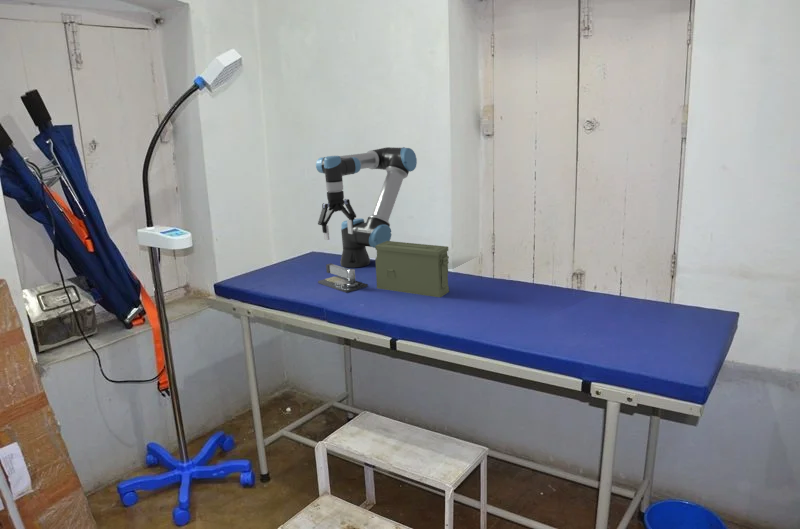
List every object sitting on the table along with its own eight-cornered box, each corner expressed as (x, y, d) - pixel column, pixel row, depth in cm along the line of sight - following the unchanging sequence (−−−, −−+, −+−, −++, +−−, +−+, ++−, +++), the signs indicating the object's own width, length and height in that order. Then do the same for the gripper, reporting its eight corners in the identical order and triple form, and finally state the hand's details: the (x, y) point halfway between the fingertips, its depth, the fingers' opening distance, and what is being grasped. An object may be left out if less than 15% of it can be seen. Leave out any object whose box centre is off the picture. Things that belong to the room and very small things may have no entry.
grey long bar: (357, 282, 268) (356, 269, 266) (351, 283, 266) (350, 270, 264) (332, 274, 282) (331, 262, 280) (326, 276, 280) (325, 263, 278)
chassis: (339, 277, 286) (338, 272, 285) (367, 286, 270) (367, 281, 269) (318, 283, 278) (317, 278, 278) (346, 292, 262) (345, 287, 262)
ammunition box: (442, 298, 250) (440, 251, 244) (375, 288, 266) (373, 244, 261) (452, 291, 258) (451, 246, 252) (387, 282, 274) (385, 240, 269)
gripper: (351, 186, 282) (355, 230, 287) (307, 194, 266) (311, 240, 271) (361, 187, 276) (365, 232, 282) (317, 195, 260) (321, 243, 266)
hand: (339, 236), depth 277 cm, fingers open, 13 cm apart
